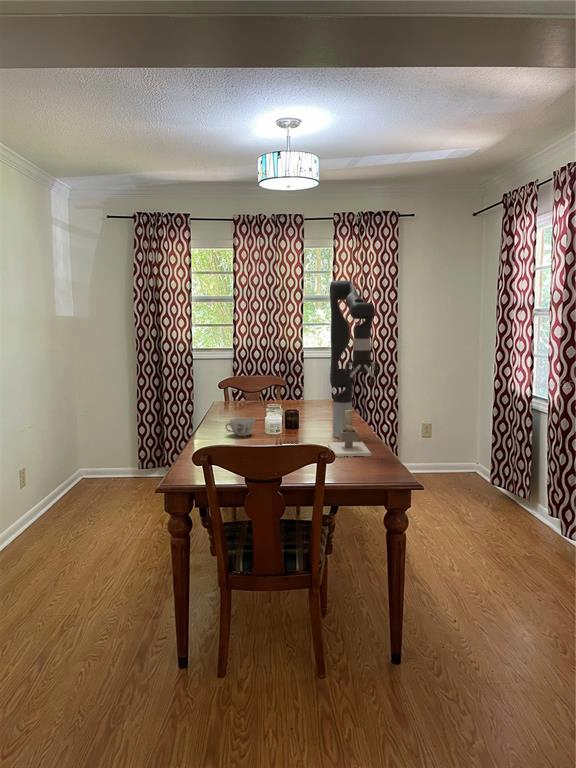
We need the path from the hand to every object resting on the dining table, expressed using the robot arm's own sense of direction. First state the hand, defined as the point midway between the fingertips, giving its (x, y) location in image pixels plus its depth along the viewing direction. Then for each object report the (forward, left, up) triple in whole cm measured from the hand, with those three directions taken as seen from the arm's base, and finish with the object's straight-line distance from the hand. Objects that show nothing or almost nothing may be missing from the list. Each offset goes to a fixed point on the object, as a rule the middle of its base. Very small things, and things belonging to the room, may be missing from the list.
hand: (361, 385), depth 256 cm
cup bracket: (+2, -6, -29) cm, 29 cm away
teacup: (-32, -54, -29) cm, 69 cm away
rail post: (+2, -6, -23) cm, 23 cm away
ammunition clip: (+25, -34, -29) cm, 51 cm away
